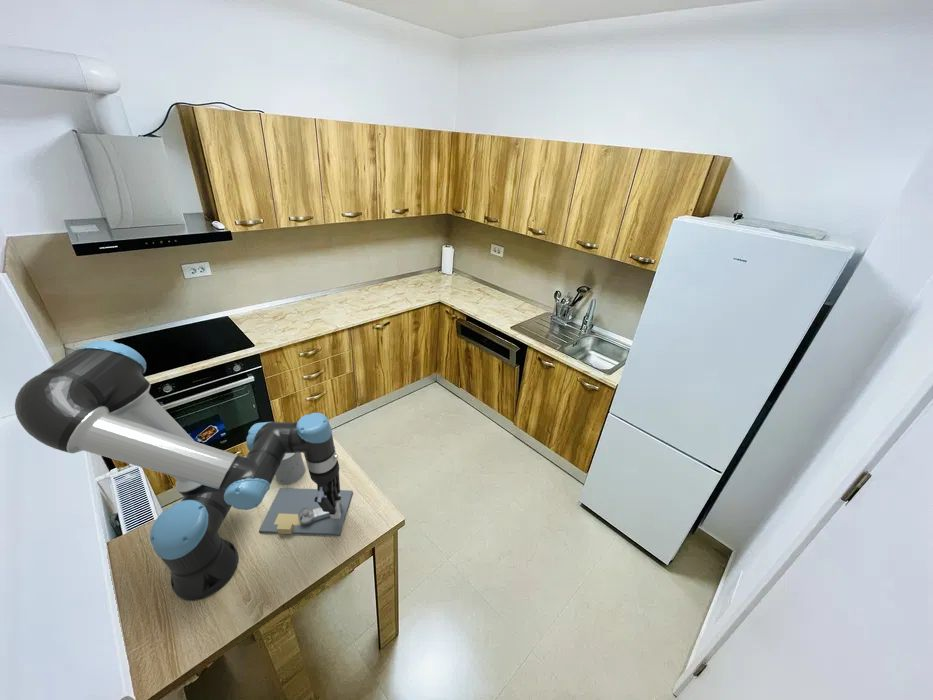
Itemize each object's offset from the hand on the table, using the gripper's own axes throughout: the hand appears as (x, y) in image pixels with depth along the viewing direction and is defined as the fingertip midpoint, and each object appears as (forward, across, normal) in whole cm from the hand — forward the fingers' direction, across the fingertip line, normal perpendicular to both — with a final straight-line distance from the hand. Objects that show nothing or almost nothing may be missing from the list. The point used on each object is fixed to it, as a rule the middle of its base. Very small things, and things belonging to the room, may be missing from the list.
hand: (335, 516), depth 111 cm
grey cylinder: (+5, +18, +23) cm, 30 cm away
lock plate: (+5, +4, +11) cm, 13 cm away
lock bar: (+4, +2, +6) cm, 7 cm away
